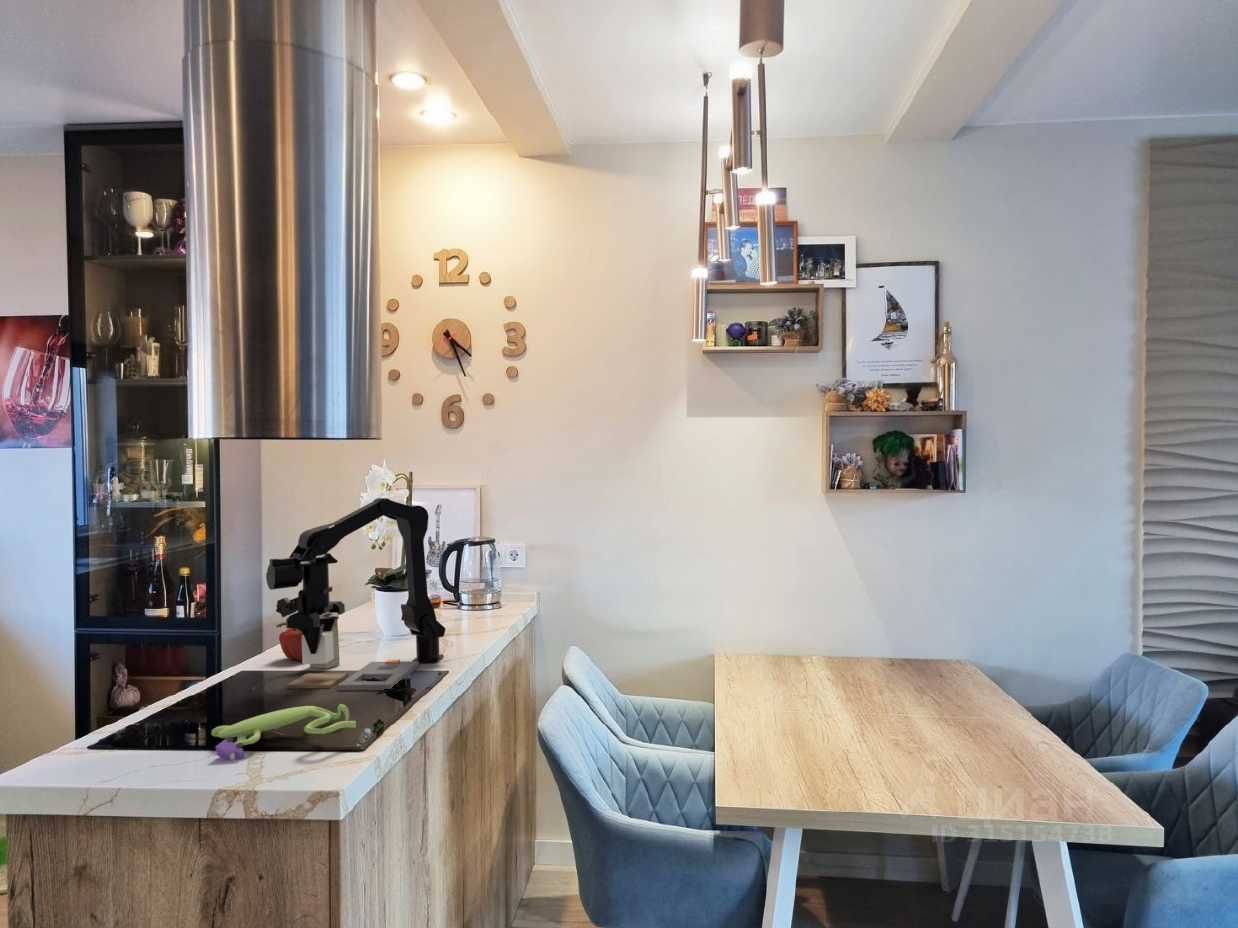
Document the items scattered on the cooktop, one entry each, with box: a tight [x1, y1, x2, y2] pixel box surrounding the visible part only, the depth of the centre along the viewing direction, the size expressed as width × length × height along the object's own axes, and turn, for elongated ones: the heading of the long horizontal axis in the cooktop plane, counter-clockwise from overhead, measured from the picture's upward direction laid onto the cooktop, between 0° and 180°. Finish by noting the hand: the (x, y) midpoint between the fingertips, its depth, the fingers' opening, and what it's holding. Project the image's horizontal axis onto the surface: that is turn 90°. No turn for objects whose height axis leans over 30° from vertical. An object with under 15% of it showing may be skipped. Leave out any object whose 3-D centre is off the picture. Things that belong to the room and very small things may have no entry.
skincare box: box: [309, 620, 341, 669], centre depth 204 cm, size 6×4×12 cm
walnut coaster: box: [286, 672, 349, 689], centre depth 189 cm, size 10×10×1 cm
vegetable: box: [276, 621, 303, 661], centre depth 212 cm, size 11×10×10 cm
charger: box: [301, 631, 334, 665], centre depth 189 cm, size 4×6×6 cm
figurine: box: [210, 703, 357, 761], centre depth 149 cm, size 18×27×6 cm
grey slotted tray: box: [337, 659, 420, 691], centre depth 191 cm, size 21×12×2 cm, turn 177°
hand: (317, 651), depth 189 cm, fingers closed on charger, 4 cm apart
